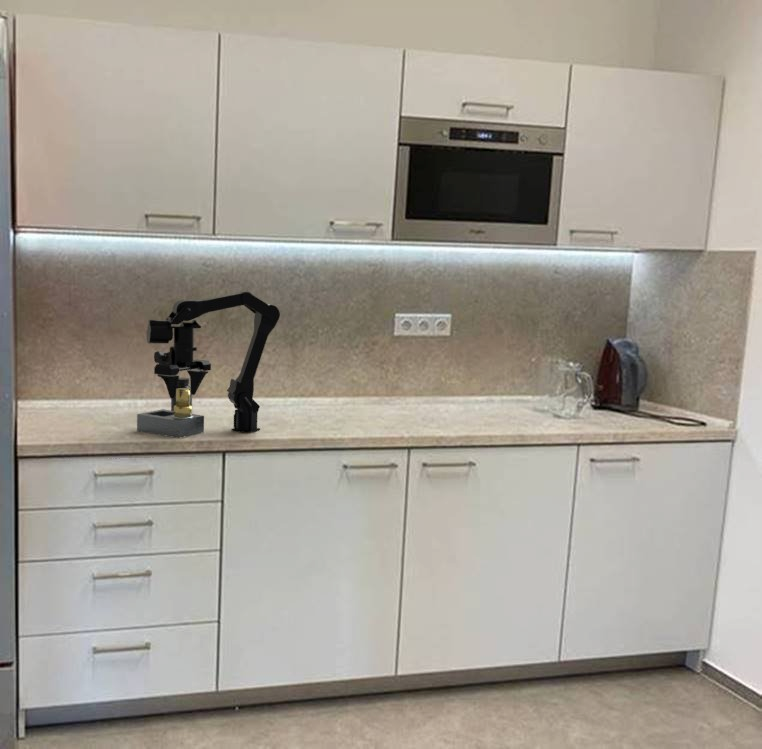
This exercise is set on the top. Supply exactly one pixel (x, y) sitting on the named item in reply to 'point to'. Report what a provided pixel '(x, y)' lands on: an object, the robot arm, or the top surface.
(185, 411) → the brass cap
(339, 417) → the top surface
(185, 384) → the supplement bottle
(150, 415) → the housing
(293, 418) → the top surface
